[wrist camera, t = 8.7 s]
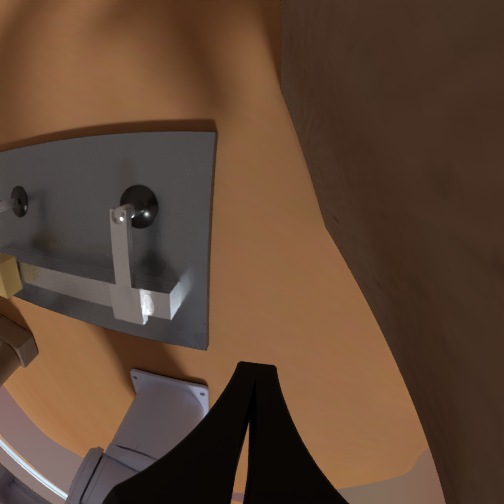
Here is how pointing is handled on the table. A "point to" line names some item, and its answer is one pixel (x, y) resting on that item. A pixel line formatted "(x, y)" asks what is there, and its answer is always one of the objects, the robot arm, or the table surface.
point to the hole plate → (115, 230)
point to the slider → (8, 264)
